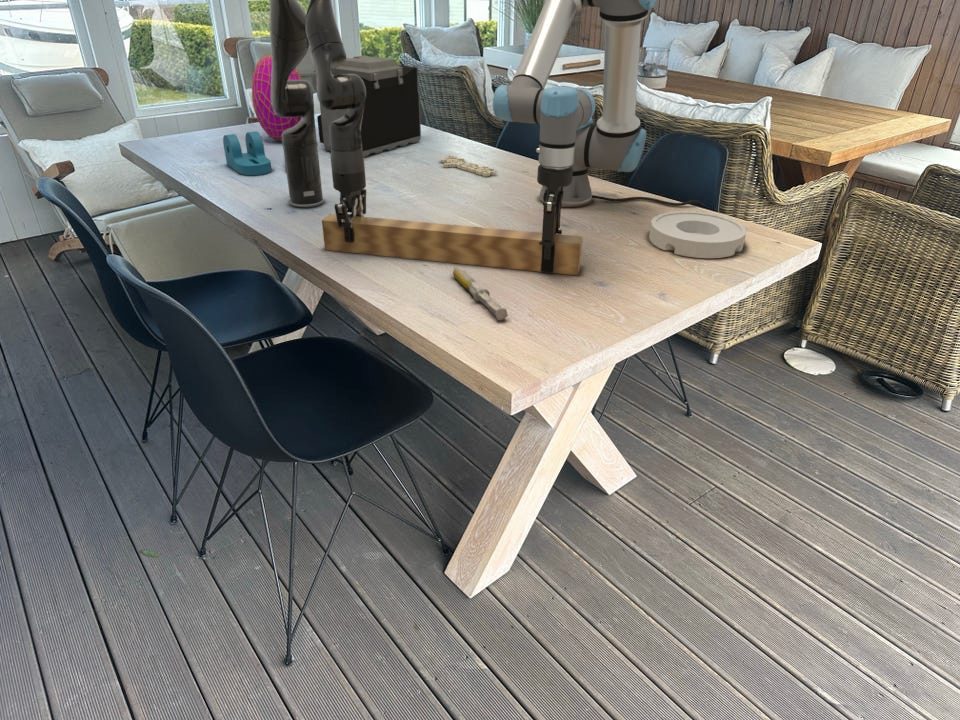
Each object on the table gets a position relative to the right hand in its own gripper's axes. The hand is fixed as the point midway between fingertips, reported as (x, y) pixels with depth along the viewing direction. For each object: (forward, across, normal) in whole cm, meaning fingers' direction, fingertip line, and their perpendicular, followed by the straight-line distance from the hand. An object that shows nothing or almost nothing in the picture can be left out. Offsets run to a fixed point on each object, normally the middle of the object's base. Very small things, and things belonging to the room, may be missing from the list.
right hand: (548, 266), depth 159 cm
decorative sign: (+1, -79, -40) cm, 89 cm away
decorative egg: (+1, -100, -117) cm, 154 cm away
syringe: (+1, +19, -12) cm, 23 cm away
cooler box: (+1, -100, -82) cm, 129 cm away
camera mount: (+1, -59, -109) cm, 124 cm away
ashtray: (+1, -27, +34) cm, 43 cm away
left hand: (-2, 0, -48) cm, 48 cm away
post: (+1, 0, -24) cm, 24 cm away
